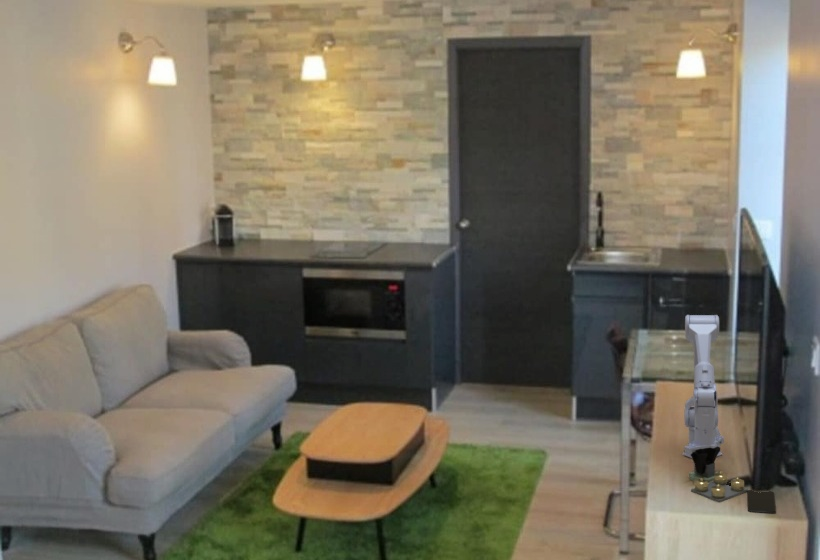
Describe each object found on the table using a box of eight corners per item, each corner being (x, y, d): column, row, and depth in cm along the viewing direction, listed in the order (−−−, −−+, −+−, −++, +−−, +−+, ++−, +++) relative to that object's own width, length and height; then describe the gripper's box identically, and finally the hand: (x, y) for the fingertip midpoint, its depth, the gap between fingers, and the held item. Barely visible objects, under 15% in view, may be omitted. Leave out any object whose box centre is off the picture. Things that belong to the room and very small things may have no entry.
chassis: (719, 480, 317) (720, 467, 316) (747, 491, 309) (748, 478, 308) (691, 491, 310) (691, 478, 310) (718, 502, 302) (719, 488, 301)
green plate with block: (705, 469, 326) (705, 454, 325) (724, 476, 320) (724, 461, 319) (684, 477, 321) (684, 461, 320) (703, 484, 315) (703, 468, 314)
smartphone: (746, 492, 310) (747, 513, 295) (746, 489, 309) (747, 510, 295) (774, 493, 307) (776, 515, 293) (774, 491, 307) (776, 512, 293)
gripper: (698, 436, 310) (697, 481, 313) (732, 425, 318) (731, 469, 321) (679, 430, 316) (678, 474, 319) (713, 419, 324) (712, 462, 326)
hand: (704, 471), depth 320 cm, fingers closed on green plate with block, 3 cm apart
